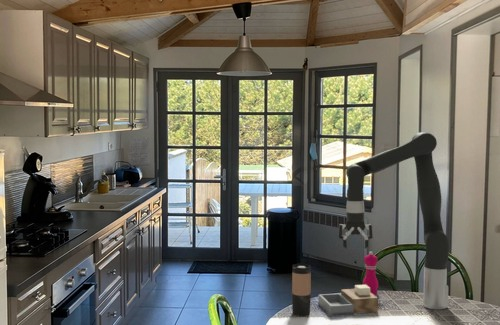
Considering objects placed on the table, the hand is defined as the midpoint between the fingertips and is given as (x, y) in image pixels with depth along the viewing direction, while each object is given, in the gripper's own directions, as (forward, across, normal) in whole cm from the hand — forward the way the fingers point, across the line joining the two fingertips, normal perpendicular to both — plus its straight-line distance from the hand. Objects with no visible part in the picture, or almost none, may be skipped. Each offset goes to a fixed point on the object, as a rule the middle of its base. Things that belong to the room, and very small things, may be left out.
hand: (355, 248), depth 242 cm
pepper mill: (+25, -8, -16) cm, 31 cm away
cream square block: (+19, -3, +3) cm, 19 cm away
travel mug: (+25, +23, +15) cm, 37 cm away
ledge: (+25, -1, +4) cm, 25 cm away
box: (+25, +9, +7) cm, 27 cm away
